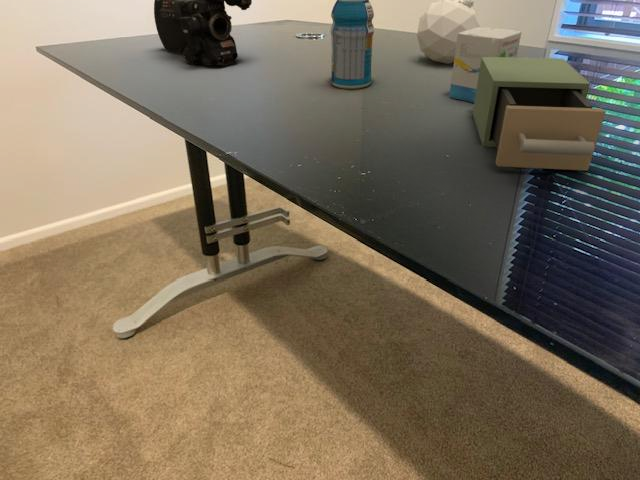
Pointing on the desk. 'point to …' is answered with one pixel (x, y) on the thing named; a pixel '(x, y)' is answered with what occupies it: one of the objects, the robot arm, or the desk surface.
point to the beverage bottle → (351, 43)
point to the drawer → (545, 128)
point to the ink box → (479, 56)
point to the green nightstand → (518, 84)
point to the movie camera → (198, 29)
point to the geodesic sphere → (445, 28)
